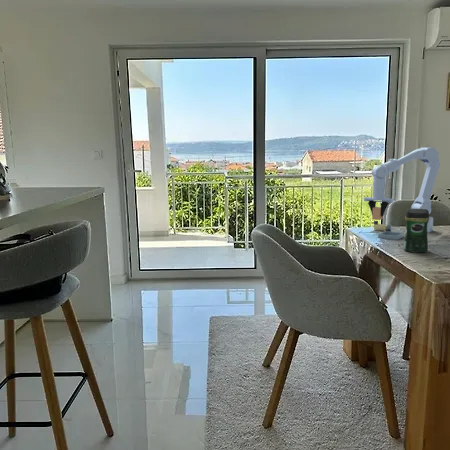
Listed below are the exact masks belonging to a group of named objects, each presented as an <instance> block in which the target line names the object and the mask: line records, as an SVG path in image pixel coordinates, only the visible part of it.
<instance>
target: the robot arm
mask: <svg viewBox="0 0 450 450" xmlns="http://www.w3.org/2000/svg"><path fill="white" fill-rule="evenodd" d="M439 155H440V152H439V151H438V150H437V149H436V147H434V146H430V147H419V148H417V149H414V150H413V151H411V152H408V153H407V154H405V155H404V156H402V157H400V158H398V159H396V158H390V159H389V160H388V161H386V162H384V163H380V166H379V165H378V166H375V167H374V168H373V169H372V171H371V176H373V182H372V197H363V202H367V205H368V207H369V208H370V211H371V213H372V212H373V208H374V207H377V206H376V205H377V203H380V207H381V216H383V217H384V216H385V212H386V209H387V207H388V206H389V204H392V203H394V198H387V197H385V196H386V195H385V190H386V177H387V176H388V175H389V174H392V173H393V172H395V171H397V170H399V169H400V168H401V165H404V164H407V163H408V162H411V161H413V160H416V159H417V160H419V161H421V162H423V163H424V165H425V167H426V169H425V172H424V175H423V179H422V182H421V183H422V184H421V187H420V190H419V192H418V193H419V194H418V196H416V198H415V199H414V202H413V203H412V205H411V207H410V209H427V210H428V211H429V215H430V214H431V212H432V201H431V197H432V196H431V195H432V192H433V189H434V185H435V182H436V179H437V175H438V172H439V168H440V160H439V159H440V158H439ZM433 228H434V217H433V216H429V221H428V224H427V233H431V232H433Z"/></svg>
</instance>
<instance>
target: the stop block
mask: <svg viewBox="0 0 450 450" xmlns="http://www.w3.org/2000/svg"><path fill="white" fill-rule="evenodd" d="M371 217H372V218H371V219H372V220H374V221H381V220H383V219H384V216H381V206H375V207H374V208H373V212H371Z"/></svg>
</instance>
